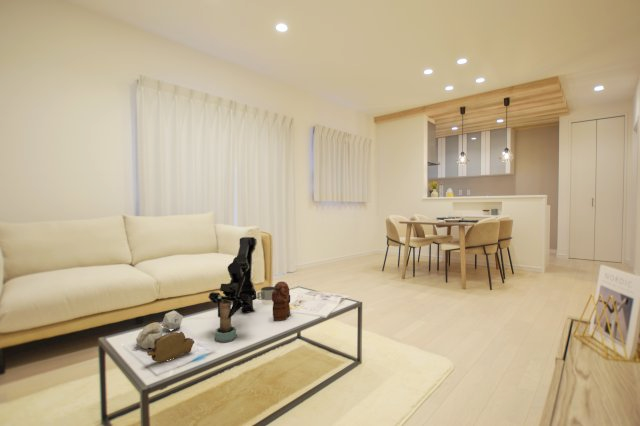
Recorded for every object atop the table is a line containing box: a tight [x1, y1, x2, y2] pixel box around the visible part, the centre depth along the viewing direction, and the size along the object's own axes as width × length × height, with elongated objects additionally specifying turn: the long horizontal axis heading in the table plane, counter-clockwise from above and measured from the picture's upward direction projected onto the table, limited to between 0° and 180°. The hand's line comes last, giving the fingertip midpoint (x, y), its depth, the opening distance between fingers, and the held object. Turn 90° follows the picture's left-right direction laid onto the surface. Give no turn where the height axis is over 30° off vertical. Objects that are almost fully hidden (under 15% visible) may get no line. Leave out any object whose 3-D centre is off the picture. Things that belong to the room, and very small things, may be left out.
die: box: [160, 310, 184, 330], centre depth 147 cm, size 8×9×10 cm
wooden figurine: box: [271, 281, 291, 322], centre depth 161 cm, size 12×6×18 cm, turn 161°
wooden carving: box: [146, 331, 195, 363], centre depth 120 cm, size 16×5×10 cm, turn 136°
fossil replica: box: [136, 321, 163, 350], centre depth 131 cm, size 12×8×10 cm
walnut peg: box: [219, 299, 232, 333], centre depth 137 cm, size 4×4×15 cm
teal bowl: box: [214, 325, 238, 344], centre depth 137 cm, size 9×9×4 cm
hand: (223, 317), depth 136 cm, fingers closed on walnut peg, 4 cm apart
